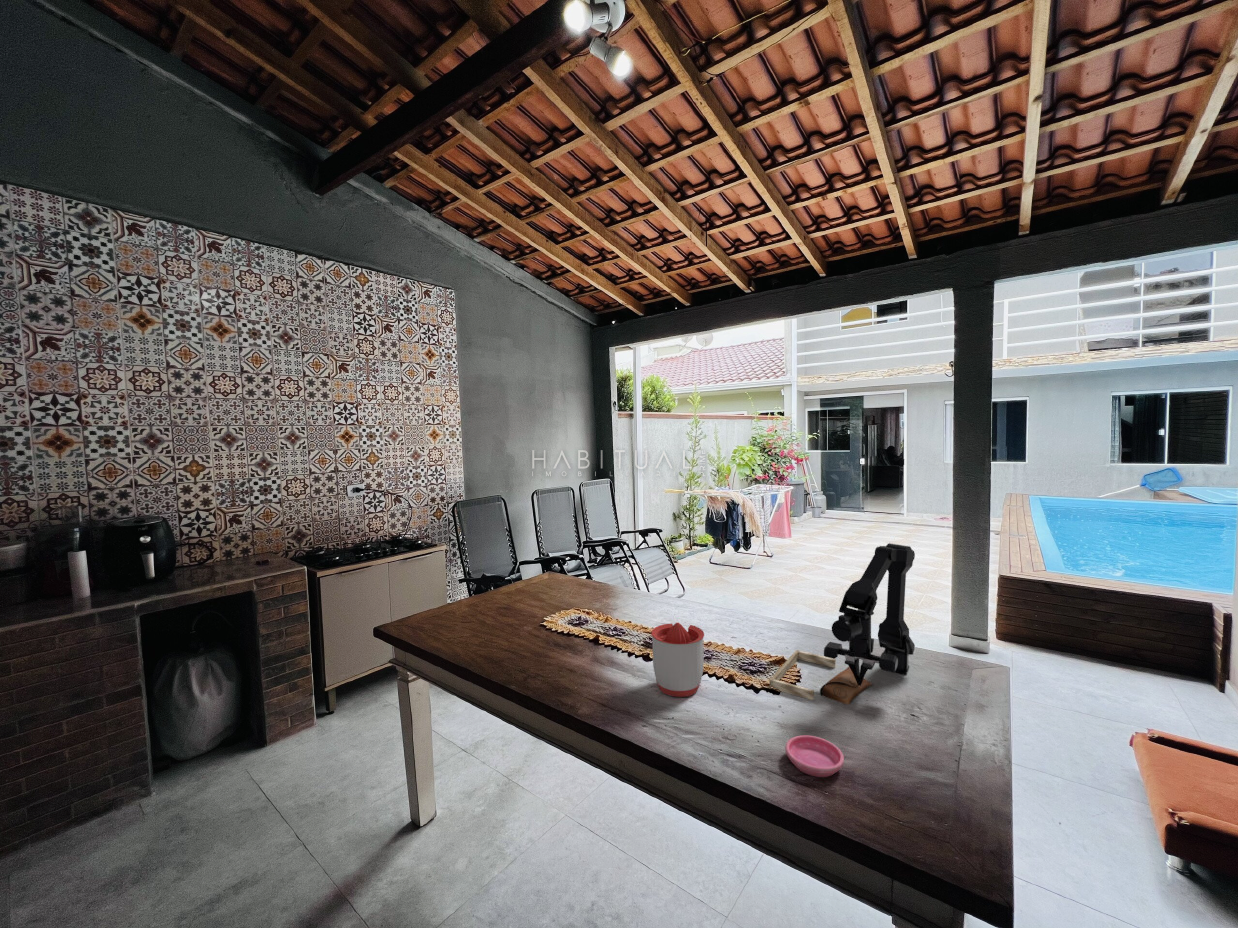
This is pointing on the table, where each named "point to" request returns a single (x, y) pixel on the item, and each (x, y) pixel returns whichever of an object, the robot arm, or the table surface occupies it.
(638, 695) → the table surface
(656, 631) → the citrus juicer
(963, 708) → the table surface
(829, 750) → the saucer
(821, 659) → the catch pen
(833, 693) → the sunglasses case
